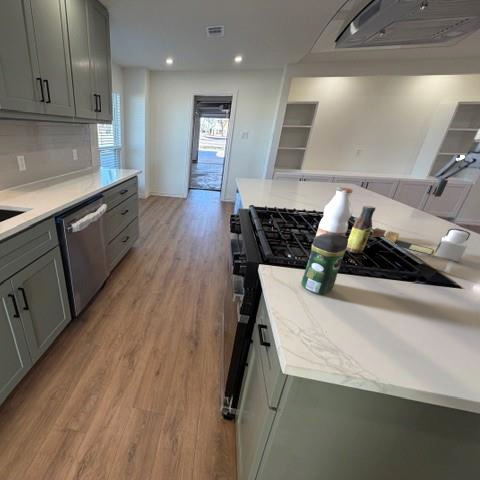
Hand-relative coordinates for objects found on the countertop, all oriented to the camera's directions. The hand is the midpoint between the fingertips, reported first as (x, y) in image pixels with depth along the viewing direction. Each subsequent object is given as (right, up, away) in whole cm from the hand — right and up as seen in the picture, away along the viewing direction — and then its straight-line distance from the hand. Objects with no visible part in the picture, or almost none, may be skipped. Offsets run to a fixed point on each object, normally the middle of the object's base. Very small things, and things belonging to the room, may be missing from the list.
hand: (459, 200), depth 98 cm
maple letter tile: (-6, -16, +23) cm, 28 cm away
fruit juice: (-48, -22, +7) cm, 53 cm away
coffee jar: (-65, -31, -15) cm, 73 cm away
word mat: (-4, -17, +20) cm, 27 cm away
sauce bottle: (-32, -20, +12) cm, 40 cm away
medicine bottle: (+6, -23, +9) cm, 25 cm away
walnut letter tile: (-9, -14, +26) cm, 31 cm away
